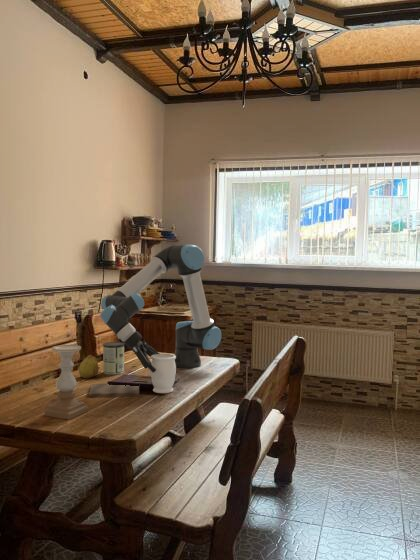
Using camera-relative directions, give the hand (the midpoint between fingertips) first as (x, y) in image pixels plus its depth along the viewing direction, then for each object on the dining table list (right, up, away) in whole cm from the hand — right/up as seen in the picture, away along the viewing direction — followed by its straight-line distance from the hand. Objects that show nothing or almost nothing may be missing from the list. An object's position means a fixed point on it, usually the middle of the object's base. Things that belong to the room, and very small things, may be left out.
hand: (164, 373), depth 207 cm
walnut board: (-21, -7, 0) cm, 22 cm away
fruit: (-37, -6, +22) cm, 44 cm away
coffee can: (-28, -6, +33) cm, 44 cm away
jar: (-1, -8, +1) cm, 8 cm away
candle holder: (-32, -9, -30) cm, 45 cm away
